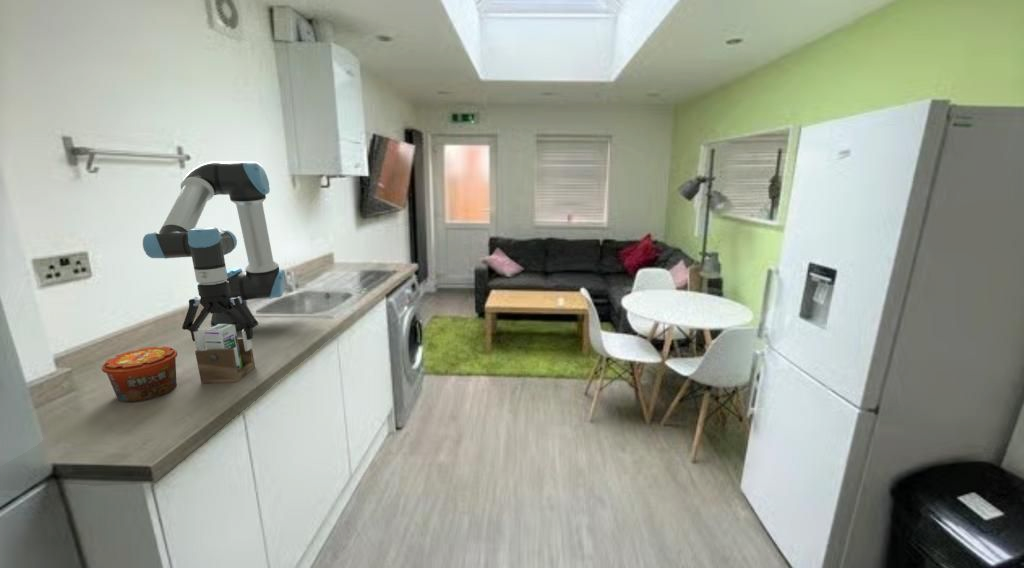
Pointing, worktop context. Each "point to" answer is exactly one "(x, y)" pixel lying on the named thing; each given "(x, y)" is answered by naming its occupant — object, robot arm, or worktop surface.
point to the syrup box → (223, 340)
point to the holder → (223, 364)
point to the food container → (142, 373)
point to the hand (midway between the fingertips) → (225, 350)
